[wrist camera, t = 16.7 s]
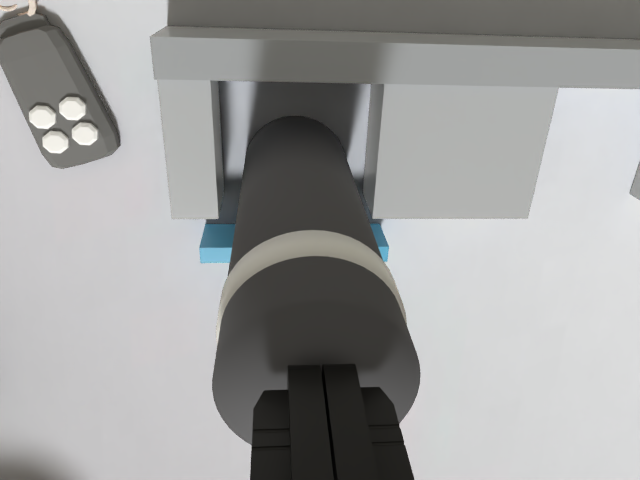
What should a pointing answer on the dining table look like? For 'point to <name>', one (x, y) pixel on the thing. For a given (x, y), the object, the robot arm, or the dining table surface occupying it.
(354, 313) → the grey cylinder white band
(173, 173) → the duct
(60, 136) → the key chain
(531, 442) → the dining table surface
